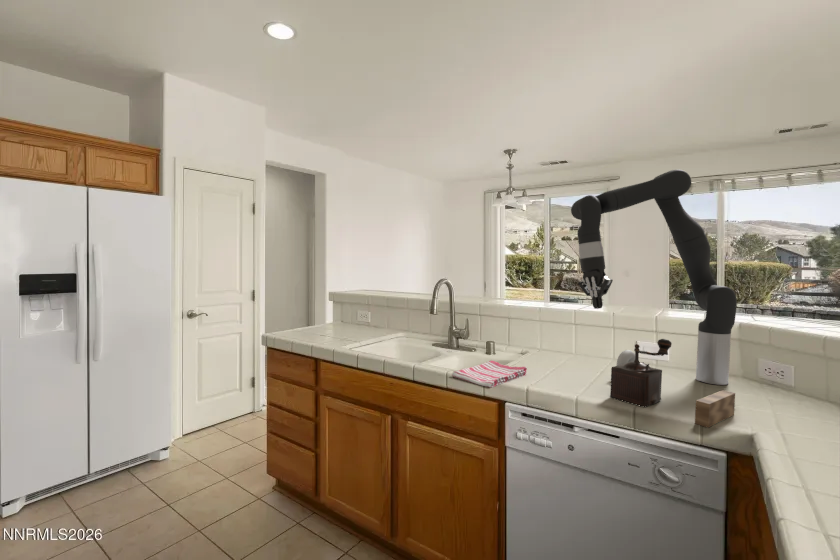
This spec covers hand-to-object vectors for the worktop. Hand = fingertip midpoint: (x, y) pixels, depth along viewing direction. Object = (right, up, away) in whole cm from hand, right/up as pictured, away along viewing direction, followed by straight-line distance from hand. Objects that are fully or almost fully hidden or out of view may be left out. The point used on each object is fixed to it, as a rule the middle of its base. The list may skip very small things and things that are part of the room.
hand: (598, 308), depth 137 cm
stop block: (+18, -27, -29) cm, 44 cm away
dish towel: (-34, -25, +9) cm, 43 cm away
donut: (+14, -25, +9) cm, 30 cm away
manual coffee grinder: (+7, -26, -12) cm, 30 cm away
